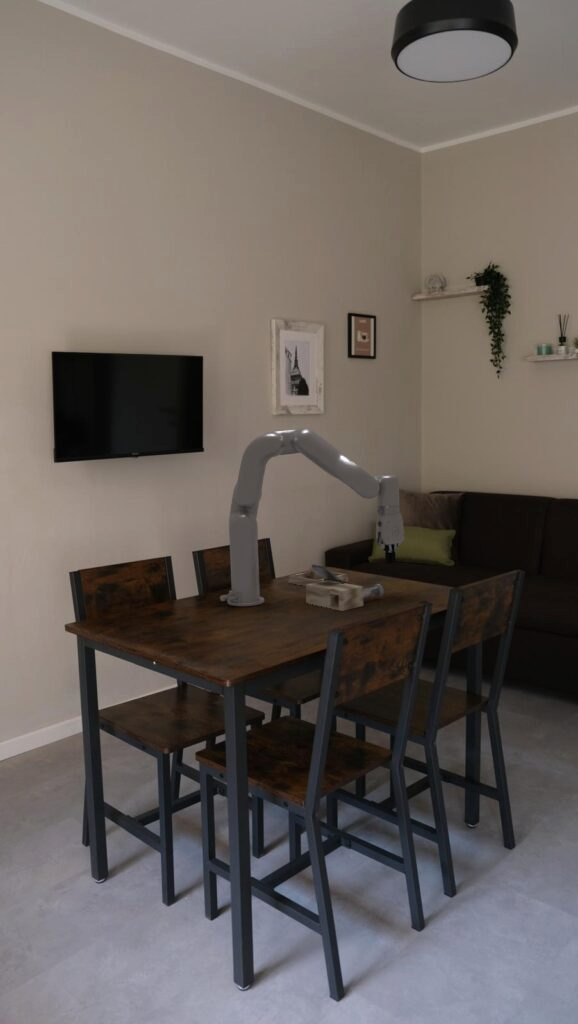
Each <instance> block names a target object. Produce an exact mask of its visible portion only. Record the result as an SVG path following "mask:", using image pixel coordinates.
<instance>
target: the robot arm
mask: <svg viewBox="0 0 578 1024" xmlns="http://www.w3.org/2000/svg"><path fill="white" fill-rule="evenodd" d="M293 454H301V455H302V456H304V457H306V458H307V459H308V460H309V461H311V462H312V463H313V464H315V465H316V466H317V467H318V468H320V469H322V471H324V472H325V473H327V474H328V475H329V476H331V477H334V478H335V479H337V480H339V481H340V482H342V483H343V484H345V485H346V486H347V487H349V488H350V489H352V491H354V492H355V494H356V495H357V496H359V497H361V498H363V499H366V500H371V499H374V498H375V497H376V498H377V503H376V504H377V510H376V511H377V517H376V523H375V539H376V543H377V544H378V545H377V547H378V549H382V550H383V552H384V554H385V564H389V565H393V564H396V562H397V561H396V552H397V548H398V547H399V546H400V545H402V542H404V541H405V528H404V520H403V517H402V516H403V515H402V513H401V512H400V510H401V509H400V508H401V507H400V487H399V483H400V482H399V477H398V476H397V475H395V474H381V475H371V474H370V473H368V472H367V471H366V470H365V469H363V468H362V467H361V466H360V465H358V464H356V463H355V462H354V461H353V460H351V458H349V457H348V456H347V455H346V454H344V453H343V452H342V451H340V450H339V449H338V448H336V447H335V446H333V444H331V443H329V442H328V441H327V440H326V439H324V437H322V436H321V435H319V434H318V433H316V432H315V431H314V430H313V429H311V428H306V427H301V428H295V429H286V430H277V431H274V430H273V431H267V432H264V434H262V435H260V436H258V437H257V436H256V437H255V438H254V439H253V440H252V441H250V442H249V444H248V445H247V446H246V448H245V449H244V452H243V454H242V456H241V460H240V465H239V466H240V467H239V470H238V478H237V482H236V483H235V485H234V489H233V493H232V499H231V504H230V510H229V517H228V534H229V556H230V559H229V560H230V578H231V579H230V581H231V586H230V587H231V590H229V591H228V593H227V594H223V595H220V597H219V599H220V601H221V602H224V601H225V602H226V601H227V604H228V605H229V606H234V607H254V606H258V605H261V604H263V603H265V598H264V596H260V595H261V594H260V573H259V572H260V571H259V570H260V566H259V564H260V563H259V545H258V539H259V527H258V521H257V517H258V513H259V512H258V510H259V505H260V501H261V499H262V494H263V491H262V490H263V484H264V478H265V472H266V467H267V464H268V462H270V461H269V460H271V459H273V458H275V457H278V456H285V455H293Z"/></svg>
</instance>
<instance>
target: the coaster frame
mask: <svg viewBox="0 0 578 1024" xmlns="http://www.w3.org/2000/svg"><path fill="white" fill-rule="evenodd" d="M332 572H333V573H334V574H335V575H336V576H337V577H338V578H339V579H340V580H345V582H346V583H349V574H347V573H342V572H336V571H332ZM307 573H308V571H307V572H306V571H305V572H301V573H297V574H292V575H291V574H290V575H287V576H288V577H287V578H288V584H289V583H292V584H291V585H294V584H297V585H296V586H299V585H303V586H302V587H304V586H306V584H311V583H316V582H320V581H324V579H319V580H314V579H308V578H307Z"/></svg>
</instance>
